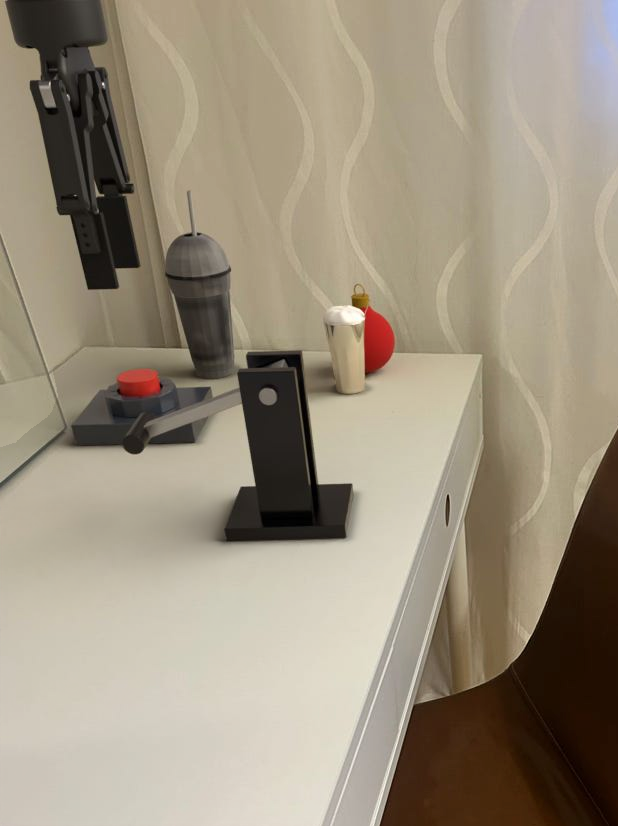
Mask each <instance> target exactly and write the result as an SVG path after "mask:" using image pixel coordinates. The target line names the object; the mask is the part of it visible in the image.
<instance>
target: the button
mask: <svg viewBox="0 0 618 826" xmlns="http://www.w3.org/2000/svg"><path fill="white" fill-rule="evenodd" d="M158 377H159V374H158V372H157V371H156V370H154V369H149V368H138V369H137V368H136V369H131V370H126V371H124V372H122V373H119V374H118V375H117V377H116V381H117V383H118V386H119V390H120V394H121V395H123V396H128V397H135V396H144V395H149V394H153V393H155V392H158V391H160V390H161V388H160V383H159V379H158Z"/></svg>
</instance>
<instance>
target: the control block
mask: <svg viewBox="0 0 618 826" xmlns="http://www.w3.org/2000/svg"><path fill="white" fill-rule="evenodd" d="M158 379H159V383H160V388H161V390H160V391H158V392H155V393H153V394H149V395H144V396H135V397H128V396H123V395H121V394H120V390H119V386H118V382H115V383H113V384H110V385H109V386H108V387H107V388H106V389H99V390H98V391H97V393H96V394H95V395H94V396H93V398H92V399H91V400H90V401H89V403H88V404H87V405H86V406H85V407H84V409H83V410H82V411H81V412H80V414H79V415H78V416H77V417H76V418H75V420H74V421H73V422H72V423H71V424H70V427H71V431H72V436H73V438H74V442H75V445H76V446H77V447H78V446H107V445H108V446H110V445H111V446H112V445H123V444H122V442H123V439H124V437H125V436H126V434H127V433H128V431H129V430H130V428H131V427H132V426H133V424H134V423H135V421H136V420H137V418H138V417H139V415H140V414H141V413H143V412H150V413H153V414H154V415H155V416H156V417H157V418H159V417H162V416H165V415H167V414H170V413H173V412H175V411H178V410H181V409H183V408H186V407H189V406H191V405H194V404H197V403H199V402H202V401H205V400H207V399H210V398H213V397H214V396H213V390H212V387H211V386H191V387H190V386H189V387H187V386H186V387H185V386H184V387H177V385H176V384H175V382H173V380H171V379H170V378H164V377H159V376H158ZM209 417H210V416H207V417H205V418H202V419H199V420H196V421H194V422H191V423H188V424H186V425H183V426H180V427H178V428H175V429H172V430H170V431H167V432H164V433H162V434H159V435H156V436H154V437H151V438H150V440H149V442H148V443H147V445H148V444H179V443H180V444H182V443H185V444H186V443H188V444H189V443H196V441H197V440H198V438H199V436H200V434H201V432H202V430H203V429H204V426H205V424H206V422H207V421H208V420H209Z"/></svg>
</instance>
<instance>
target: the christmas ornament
mask: <svg viewBox="0 0 618 826" xmlns="http://www.w3.org/2000/svg"><path fill="white" fill-rule="evenodd" d="M357 286H359V287H361V289H362V293H357V291H356V288H357ZM353 293H354V294H352V295H351V296H350V298H351V306H353V307H356V308H358V309H360V310H361V311H362V312H363V313H364V314H365V311H366V308H367V305H368V302H369V300H370V295H369V293H366V290H365V288H364V285H363V284H361V283H357V284H355V285H354V287H353ZM395 344H396V338H395V333H394V330H393V327H392V326H391V324H390V323H389V321H388V320H387V319H386V318H385V317H384V316H383V315H382V314H381V313H379V312H377V311H375V310H374V309H373V308H372V307H371V304H370V303H369V306H368V309H367V312H366V315H365V344H364V357H365V374H367V373H373V372H377V371H379V370H380V369H382V368H383V367H384V366H386V364H388V362H389V361H391V358H392V356H393V353H394V350H395V347H396V346H395Z"/></svg>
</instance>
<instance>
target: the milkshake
mask: <svg viewBox="0 0 618 826" xmlns="http://www.w3.org/2000/svg"><path fill="white" fill-rule="evenodd" d="M370 303H371V299H370V298H369V302H368V305H367V308H366V311H365V314H364V313H363V312H362V311H361V310H360V309H358V308H356V307H353V306H352V305H350V304H347V305H334V306H331V307H329V308H328V309H327V310H326V311H325V312H324V314H323V316H322V321H323V326H324V332H325V336H326V341H327V345H328V349H329V352H330V354H329V355H330V360H331V365H332V370H333V376H334V382H335V387H336V391H337V392H338V393H341V394H345V395H346V394H348V395H353V394H358V393H361V392H363V391H364V390H365V389H366V375H365V374H366V373H365V357H364V344H365V315H366V312H367V309H368V306H370V305H369V304H370Z"/></svg>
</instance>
